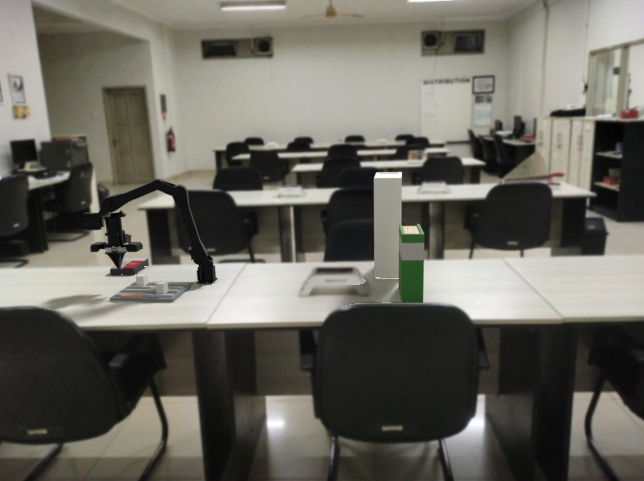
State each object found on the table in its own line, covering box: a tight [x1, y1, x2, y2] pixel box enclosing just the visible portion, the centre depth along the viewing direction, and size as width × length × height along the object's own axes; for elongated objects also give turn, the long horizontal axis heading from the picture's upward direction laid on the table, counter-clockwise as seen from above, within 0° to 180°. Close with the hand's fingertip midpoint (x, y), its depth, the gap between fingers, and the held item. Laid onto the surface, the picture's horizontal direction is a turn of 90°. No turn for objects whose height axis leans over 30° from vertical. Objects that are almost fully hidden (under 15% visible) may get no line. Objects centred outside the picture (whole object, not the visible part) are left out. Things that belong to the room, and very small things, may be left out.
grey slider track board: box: [109, 280, 194, 303], centre depth 199 cm, size 24×20×2 cm
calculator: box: [109, 257, 150, 276], centre depth 231 cm, size 11×4×15 cm
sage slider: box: [156, 280, 169, 294], centre depth 193 cm, size 3×4×4 cm
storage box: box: [373, 171, 403, 278], centre depth 214 cm, size 21×10×40 cm, turn 172°
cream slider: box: [135, 273, 149, 286], centre depth 204 cm, size 3×4×4 cm
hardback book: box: [398, 223, 425, 303], centre depth 188 cm, size 18×7×24 cm, turn 175°
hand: (119, 268), depth 204 cm, fingers closed
